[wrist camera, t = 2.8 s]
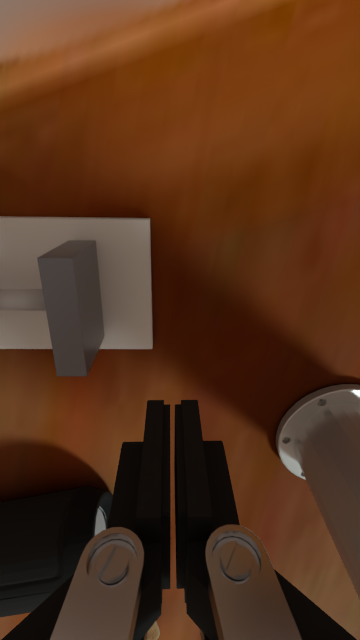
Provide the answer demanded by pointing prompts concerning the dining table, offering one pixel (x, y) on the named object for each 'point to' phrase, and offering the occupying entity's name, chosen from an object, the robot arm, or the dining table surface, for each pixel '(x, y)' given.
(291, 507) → the dining table surface
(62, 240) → the press frame
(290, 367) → the dining table surface
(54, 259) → the grey t-shaped bar
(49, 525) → the portable speaker
